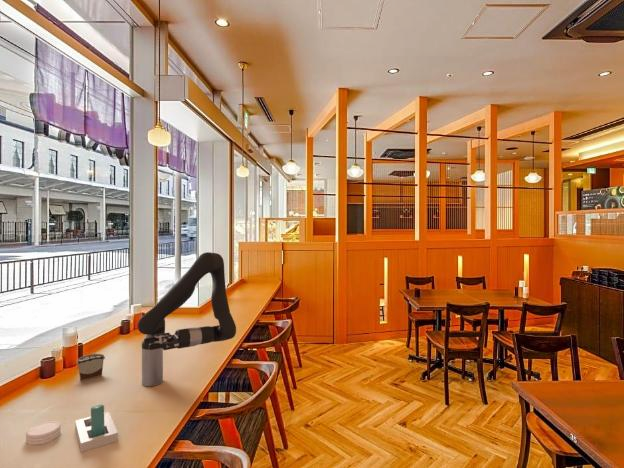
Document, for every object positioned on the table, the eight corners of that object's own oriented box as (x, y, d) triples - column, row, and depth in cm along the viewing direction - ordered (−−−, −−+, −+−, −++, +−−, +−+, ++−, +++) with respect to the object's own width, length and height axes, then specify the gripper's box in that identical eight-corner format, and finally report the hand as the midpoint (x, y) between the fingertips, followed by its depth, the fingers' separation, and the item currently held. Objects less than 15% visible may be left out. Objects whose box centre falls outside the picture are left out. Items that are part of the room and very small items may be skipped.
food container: (101, 371, 194) (101, 351, 194) (105, 374, 190) (105, 354, 190) (73, 377, 186) (73, 357, 185) (76, 381, 181) (76, 360, 181)
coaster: (19, 442, 131) (18, 432, 131) (47, 428, 141) (47, 418, 140) (39, 448, 128) (39, 438, 128) (67, 433, 137) (67, 423, 137)
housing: (75, 428, 140) (75, 420, 140) (108, 419, 146) (108, 411, 146) (80, 452, 125) (80, 442, 125) (117, 441, 132) (117, 432, 132)
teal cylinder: (90, 438, 133) (90, 406, 133) (103, 434, 135) (103, 403, 135) (92, 443, 130) (91, 411, 129) (105, 439, 132) (104, 407, 132)
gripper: (183, 324, 163) (142, 329, 153) (194, 332, 151) (151, 339, 141) (182, 341, 163) (142, 348, 153) (194, 351, 151) (151, 359, 142)
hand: (146, 344), depth 147 cm, fingers open, 8 cm apart
